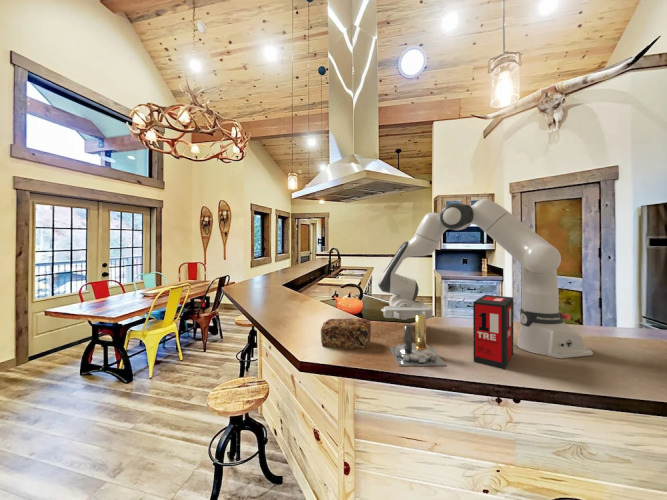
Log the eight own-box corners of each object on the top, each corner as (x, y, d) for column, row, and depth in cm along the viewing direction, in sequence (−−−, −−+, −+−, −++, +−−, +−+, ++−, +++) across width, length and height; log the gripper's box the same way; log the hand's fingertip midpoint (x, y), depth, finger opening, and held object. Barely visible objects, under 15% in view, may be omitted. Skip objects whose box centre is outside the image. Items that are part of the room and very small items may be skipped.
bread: (371, 341, 114) (371, 317, 114) (368, 351, 104) (367, 324, 104) (327, 338, 119) (327, 314, 119) (319, 347, 109) (319, 321, 109)
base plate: (430, 348, 105) (430, 347, 105) (445, 365, 90) (445, 364, 90) (390, 348, 105) (390, 347, 105) (398, 366, 90) (398, 364, 90)
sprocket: (391, 347, 104) (391, 318, 104) (428, 346, 105) (428, 318, 105) (401, 362, 91) (401, 329, 91) (443, 361, 91) (442, 328, 91)
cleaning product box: (504, 369, 87) (504, 305, 87) (473, 362, 93) (473, 301, 93) (513, 353, 100) (513, 297, 99) (485, 347, 105) (485, 294, 105)
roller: (424, 344, 102) (424, 314, 102) (427, 348, 98) (427, 316, 98) (414, 344, 102) (414, 314, 102) (417, 348, 98) (416, 316, 98)
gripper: (380, 301, 125) (385, 309, 112) (426, 301, 125) (437, 308, 111) (380, 315, 126) (385, 324, 112) (426, 315, 125) (437, 324, 111)
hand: (411, 316), depth 111 cm, fingers open, 8 cm apart
